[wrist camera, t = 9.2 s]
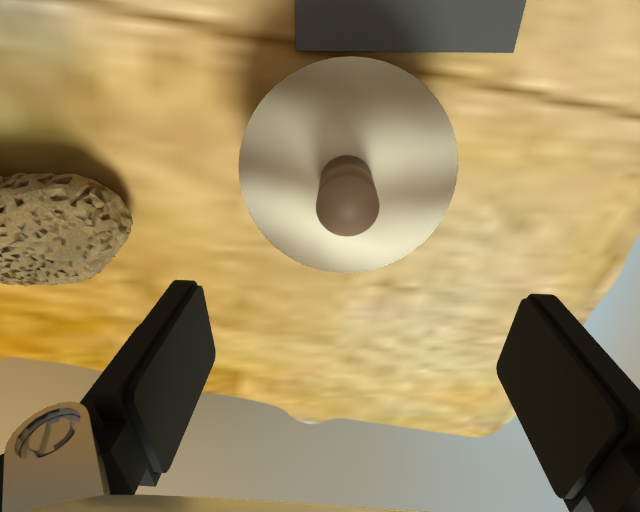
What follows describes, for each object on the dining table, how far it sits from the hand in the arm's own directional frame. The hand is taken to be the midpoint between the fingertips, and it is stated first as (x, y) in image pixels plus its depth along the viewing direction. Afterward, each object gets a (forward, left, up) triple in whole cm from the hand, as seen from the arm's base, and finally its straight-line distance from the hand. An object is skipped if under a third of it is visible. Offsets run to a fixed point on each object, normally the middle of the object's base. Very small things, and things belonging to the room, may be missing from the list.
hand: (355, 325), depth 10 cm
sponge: (+6, -30, -23) cm, 38 cm away
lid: (0, 0, -16) cm, 16 cm away
